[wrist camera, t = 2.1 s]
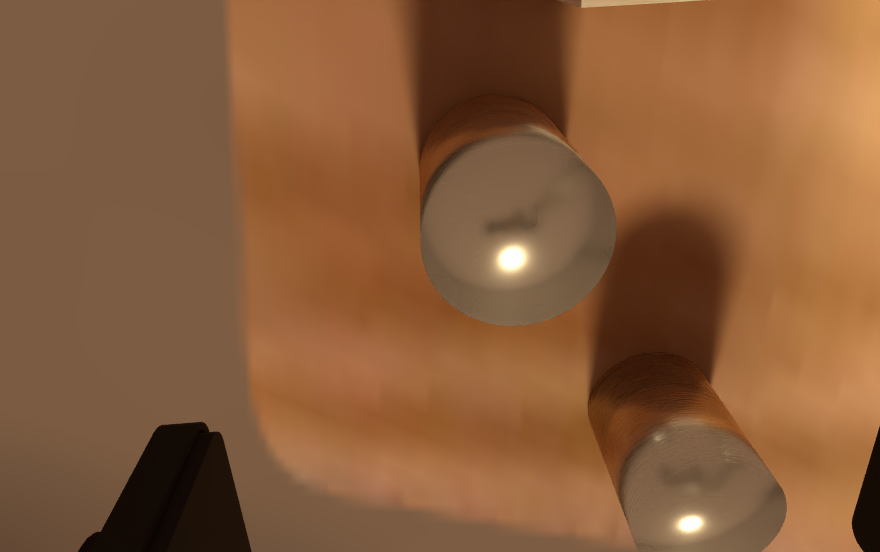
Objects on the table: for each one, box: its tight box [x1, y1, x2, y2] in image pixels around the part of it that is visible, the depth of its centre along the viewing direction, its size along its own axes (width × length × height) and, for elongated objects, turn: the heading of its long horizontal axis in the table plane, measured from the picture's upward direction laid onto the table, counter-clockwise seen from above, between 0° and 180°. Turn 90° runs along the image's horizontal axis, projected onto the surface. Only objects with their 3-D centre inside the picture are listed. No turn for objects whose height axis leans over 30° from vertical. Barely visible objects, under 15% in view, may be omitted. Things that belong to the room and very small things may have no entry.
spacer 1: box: [420, 95, 616, 326], centre depth 18 cm, size 5×5×6 cm
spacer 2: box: [588, 353, 787, 552], centre depth 23 cm, size 5×5×6 cm
